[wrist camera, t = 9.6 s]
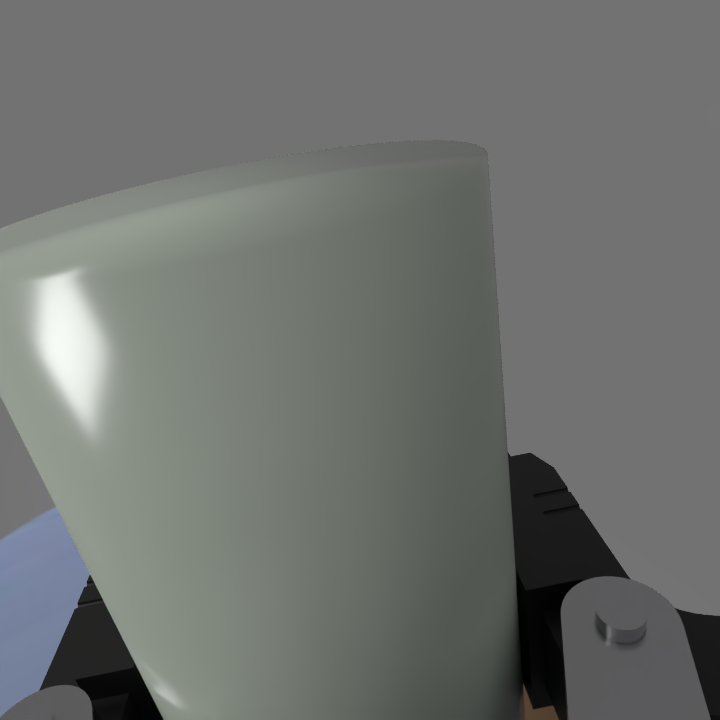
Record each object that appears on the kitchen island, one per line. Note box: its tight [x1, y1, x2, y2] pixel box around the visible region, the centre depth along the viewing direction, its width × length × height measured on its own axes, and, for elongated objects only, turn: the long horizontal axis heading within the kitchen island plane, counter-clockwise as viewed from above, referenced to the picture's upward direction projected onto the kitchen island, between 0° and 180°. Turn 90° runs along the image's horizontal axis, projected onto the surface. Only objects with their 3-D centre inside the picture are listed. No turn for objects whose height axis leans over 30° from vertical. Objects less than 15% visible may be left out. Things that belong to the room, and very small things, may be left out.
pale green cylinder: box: [0, 140, 526, 720], centre depth 8 cm, size 5×5×13 cm
